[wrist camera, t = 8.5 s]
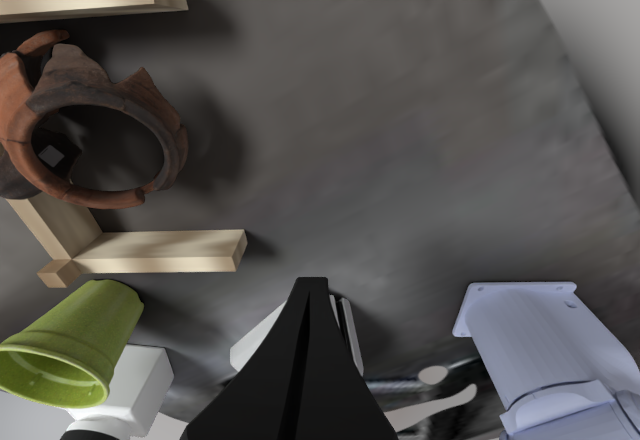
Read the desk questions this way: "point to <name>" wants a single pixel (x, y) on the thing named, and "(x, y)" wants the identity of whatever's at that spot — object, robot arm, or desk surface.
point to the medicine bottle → (126, 398)
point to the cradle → (77, 221)
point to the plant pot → (72, 347)
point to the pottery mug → (55, 148)
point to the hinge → (255, 337)
